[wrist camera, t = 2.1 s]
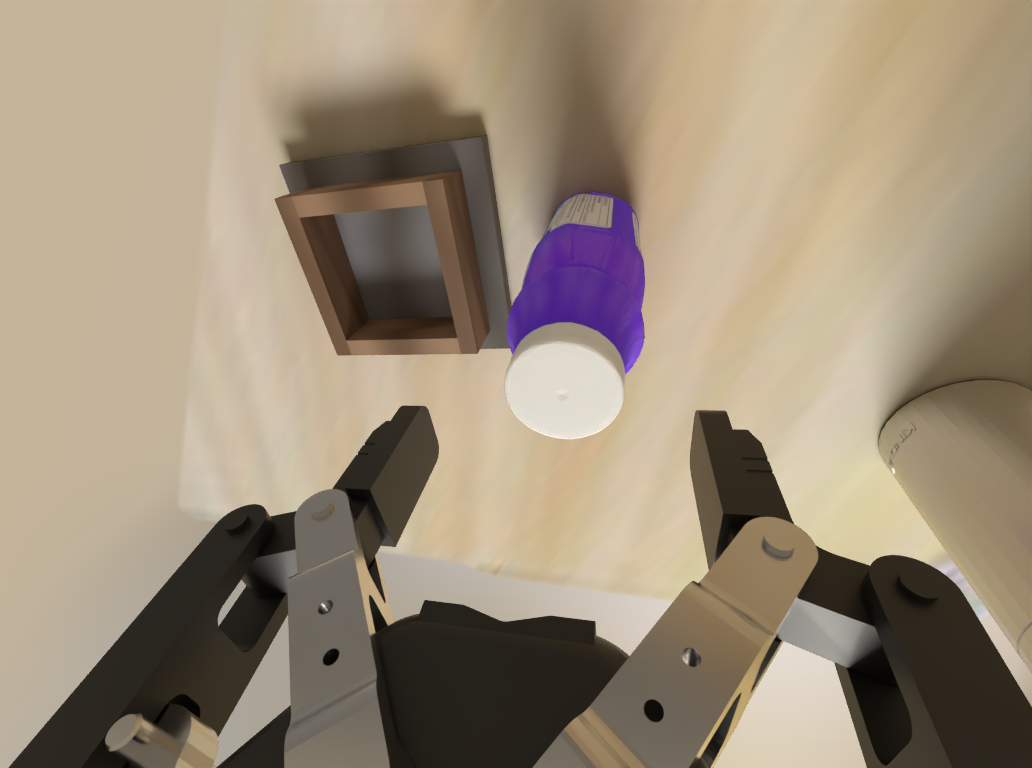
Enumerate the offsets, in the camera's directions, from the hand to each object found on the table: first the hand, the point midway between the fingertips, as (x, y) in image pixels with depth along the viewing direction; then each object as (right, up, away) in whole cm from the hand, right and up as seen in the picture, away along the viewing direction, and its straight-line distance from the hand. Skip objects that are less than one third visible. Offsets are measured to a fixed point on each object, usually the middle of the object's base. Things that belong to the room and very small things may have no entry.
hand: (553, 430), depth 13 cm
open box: (-9, +11, +18) cm, 23 cm away
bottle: (+4, +11, +16) cm, 19 cm away
